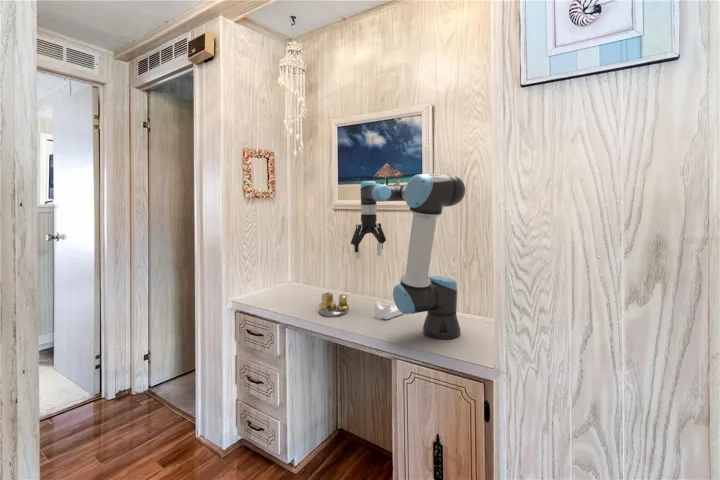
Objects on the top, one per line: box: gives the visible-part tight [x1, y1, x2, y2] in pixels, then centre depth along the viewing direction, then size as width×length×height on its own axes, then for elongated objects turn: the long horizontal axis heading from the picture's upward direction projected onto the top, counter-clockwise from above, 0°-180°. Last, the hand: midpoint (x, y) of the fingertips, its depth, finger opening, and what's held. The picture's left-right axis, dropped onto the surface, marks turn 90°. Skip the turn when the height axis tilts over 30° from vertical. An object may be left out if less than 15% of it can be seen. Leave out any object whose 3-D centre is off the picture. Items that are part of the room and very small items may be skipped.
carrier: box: [319, 293, 350, 318], centre depth 180 cm, size 13×14×9 cm
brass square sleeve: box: [318, 292, 337, 310], centre depth 184 cm, size 6×6×7 cm
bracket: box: [374, 301, 404, 320], centre depth 175 cm, size 13×7×8 cm, turn 135°
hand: (369, 257), depth 180 cm, fingers open, 13 cm apart
